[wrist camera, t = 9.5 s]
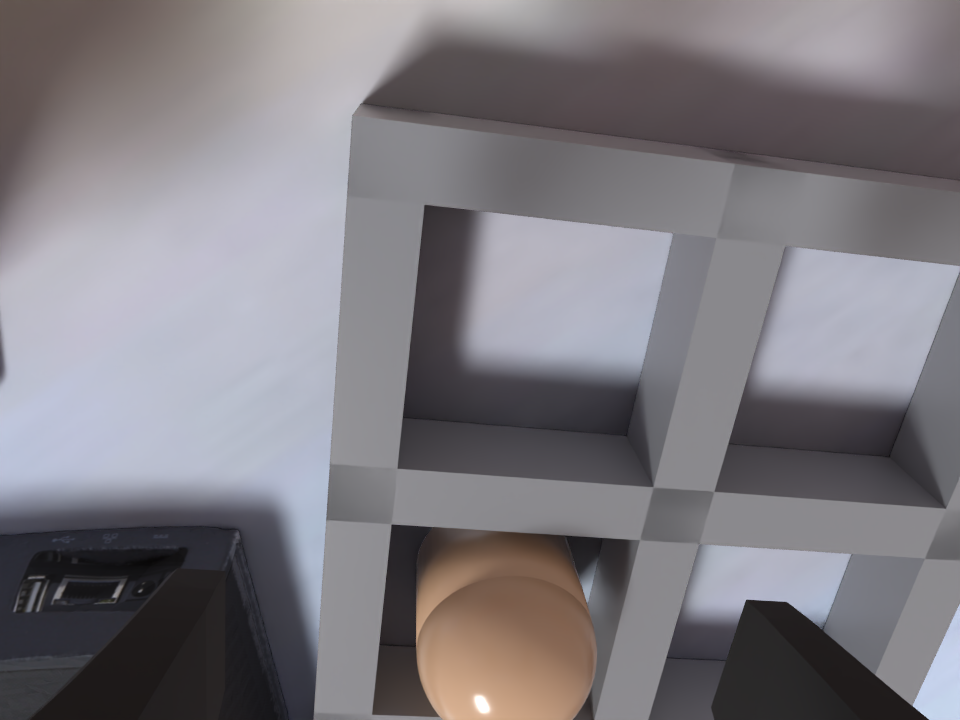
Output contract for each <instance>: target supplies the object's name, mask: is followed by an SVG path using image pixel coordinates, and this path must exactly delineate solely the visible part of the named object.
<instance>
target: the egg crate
mask: <svg viewBox="0 0 960 720" xmlns="http://www.w3.org/2000/svg"><path fill="white" fill-rule="evenodd" d="M424 205H432V206H441V207H449V208H458V209H467V210H476V211H484V212H493V213H502V214H511V215H519V216H528V217H537V218H546V219H554V220H563V221H572V222H580V223H589V224H598V225H607V226H615V227H624V228H633V229H642V230H650V231H659V232H668V233H674V234H673V238H672V242H671V247H670V251H669V255H668V260H667V264H666V268H665V273H664V277H663V281H662V286H661V290H660V294H659V299H658V303H657V307H656V312H655V316H654V320H653V325H652V329H651V333H650V338H649V342H648V346H647V351H646V355H645V359H644V364H643V368H642V372H641V377H640V381H639V385H638V390H637V394H636V398H635V403H634V407H633V411H632V416H631V420H630V424H629V429H628V433H627V436H622V435H609V434H597V433H585V432H572V431H560V430H548V429H535V428H523V427H511V426H498V425H486V424H473V423H461V422H449V421H436V420H424V419H412V418H403V409H404V399H405V390H406V380H407V370H408V360H409V351H410V341H411V331H412V322H413V312H414V302H415V293H416V283H417V273H418V263H419V254H420V244H421V234H422V225H423V215H424ZM785 246H790V247H799V248H808V249H816V250H825V251H834V252H843V253H851V254H860V255H869V256H878V257H886V258H895V259H904V260H913V261H921V262H930V263H939V264H948V265H956V266H960V181H959V180H952V179H944V178H936V177H928V176H921V175H913V174H905V173H897V172H889V171H882V170H874V169H866V168H858V167H851V166H843V165H835V164H827V163H820V162H812V161H804V160H796V159H789V158H781V157H773V156H765V155H758V154H750V153H742V152H734V151H727V150H719V149H711V148H703V147H696V146H688V145H680V144H672V143H665V142H657V141H649V140H641V139H634V138H626V137H618V136H610V135H603V134H595V133H587V132H579V131H572V130H564V129H556V128H548V127H540V126H533V125H525V124H517V123H509V122H502V121H494V120H486V119H478V118H471V117H463V116H455V115H447V114H440V113H432V112H424V111H416V110H409V109H401V108H393V107H385V106H378V105H370V104H362V103H361V104H360V106H359V107H358V108H357V110H356V111H355V112H354V114H353V115H352V128H351V144H350V159H349V175H348V190H347V206H346V222H345V237H344V253H343V268H342V284H341V299H340V315H339V331H338V346H337V362H336V377H335V393H334V408H333V424H332V440H331V455H330V471H329V486H328V502H327V518H326V533H325V549H324V564H323V580H322V595H321V611H320V627H319V642H318V658H317V673H316V689H315V705H314V720H442V719H441V718H440V716H439V715H438V714H437V712H436V711H435V710H434V708H433V707H432V705H431V704H430V702H429V700H428V698H427V696H426V694H425V692H424V690H423V687H422V684H421V680H420V677H419V673H418V667H417V657H416V647H407V646H385V645H379V642H380V632H381V622H382V613H383V603H384V593H385V583H386V574H387V564H388V554H389V545H390V535H391V525H392V524H395V525H411V526H426V527H442V528H457V529H473V530H489V531H504V532H520V533H535V534H551V535H566V536H582V537H598V538H603V541H602V546H601V550H600V554H599V559H598V563H597V567H596V572H595V576H594V580H593V585H592V589H591V593H590V598H589V602H588V609H589V613H590V616H591V619H592V623H593V626H594V631H595V636H596V642H597V665H596V671H595V677H594V681H593V684H592V687H591V690H590V693H589V695H588V697H587V699H586V701H585V703H584V705H583V706H582V708H581V710H580V711H579V712H578V714H577V715H576V717H575V718H574V719H573V720H714V717H713V713H712V709H711V706H712V703H713V699H714V696H715V693H716V690H717V687H718V684H719V681H720V678H721V675H722V672H723V669H724V666H725V663H726V661H715V660H693V659H671V658H666V657H667V654H668V650H669V647H670V643H671V640H672V636H673V633H674V630H675V626H676V623H677V619H678V616H679V612H680V609H681V605H682V602H683V598H684V595H685V592H686V588H687V585H688V581H689V578H690V574H691V571H692V567H693V564H694V560H695V557H696V554H697V550H698V547H699V544H706V545H722V546H738V547H753V548H769V549H784V550H800V551H815V552H831V553H847V554H852V556H851V558H850V561H849V564H848V566H847V569H846V572H845V574H844V577H843V579H842V582H841V585H840V587H839V590H838V592H837V595H836V598H835V600H834V603H833V605H832V608H831V611H830V613H829V616H828V618H827V621H826V624H825V626H824V629H823V631H824V632H825V633H826V634H827V635H829V636H830V637H831V638H832V639H833V640H835V641H836V642H837V643H838V644H839V645H841V646H842V647H843V648H844V649H845V650H846V651H848V652H849V653H850V654H851V655H852V656H853V657H855V658H856V659H857V660H858V661H859V662H861V663H862V664H863V665H864V666H865V667H866V668H868V669H869V670H870V671H871V672H872V673H873V674H875V675H876V676H877V677H878V678H879V679H881V680H882V681H883V682H884V683H885V684H886V685H888V686H889V687H890V688H891V689H892V690H894V691H895V692H896V693H897V694H898V695H900V696H901V697H902V698H903V699H904V700H906V701H907V702H908V703H909V704H910V705H912V706H913V703H914V701H915V699H916V697H917V695H918V693H919V690H920V688H921V686H922V684H923V682H924V680H925V677H926V675H927V673H928V671H929V669H930V667H931V664H932V662H933V660H934V658H935V656H936V654H937V651H938V649H939V647H940V645H941V643H942V641H943V638H944V636H945V634H946V632H947V630H948V628H949V625H950V623H951V621H952V619H953V617H954V615H955V612H956V610H957V608H958V606H959V604H960V274H959V277H958V279H957V282H956V285H955V287H954V290H953V292H952V295H951V298H950V300H949V303H948V306H947V308H946V311H945V313H944V316H943V319H942V321H941V324H940V326H939V329H938V332H937V334H936V337H935V339H934V342H933V345H932V347H931V350H930V352H929V355H928V358H927V360H926V363H925V366H924V368H923V371H922V373H921V376H920V379H919V381H918V384H917V386H916V389H915V392H914V394H913V397H912V399H911V402H910V405H909V407H908V410H907V412H906V415H905V418H904V420H903V423H902V425H901V428H900V431H899V433H898V436H897V439H896V441H895V444H894V446H893V449H892V452H891V454H890V457H881V456H869V455H857V454H844V453H832V452H820V451H807V450H795V449H782V448H770V447H758V446H745V445H733V444H728V443H729V439H730V436H731V433H732V429H733V426H734V422H735V419H736V415H737V412H738V408H739V405H740V401H741V398H742V394H743V391H744V388H745V384H746V381H747V377H748V374H749V370H750V367H751V363H752V360H753V356H754V353H755V350H756V346H757V343H758V339H759V336H760V332H761V329H762V325H763V322H764V318H765V315H766V311H767V308H768V305H769V301H770V298H771V294H772V291H773V287H774V284H775V280H776V277H777V273H778V270H779V267H780V263H781V260H782V256H783V253H784V249H785Z"/></svg>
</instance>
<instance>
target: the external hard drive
mask: <svg viewBox="0 0 960 720" xmlns="http://www.w3.org/2000/svg"><path fill="white" fill-rule="evenodd" d="M177 568H182V569H200V570H218V571H226V584H225V691H224V696H223V700H222V705H221V709H220V714H219V718H218V720H289V719H288V714H287V710H286V707H285V703H284V699H283V696H282V692H281V689H280V685H279V681H278V677H277V674H276V670H275V665H274V663H273V658H272V655H271V651H270V648H269V644H268V640H267V636H266V633H265V629H264V625H263V622H262V618H261V614H260V611H259V607H258V604H257V600H256V596H255V593H254V589H253V585H252V581H251V577H250V574H249V570H248V566H247V561H246V559H245V556H244V551H243V547H242V543H241V538H240V536H239V531H237V530H236V529H230V530H222V529H220V528H213V527H162V528H156V527H154V528H128V529H106V530H89V531H63V532H50V533H36V534H21V535H7V536H0V720H27V719H28V718H29V717H30V716H32V715H33V714H34V713H35V712H36V711H37V710H38V709H39V708H40V707H41V706H43V705H44V704H45V703H46V702H47V701H48V700H49V699H50V698H51V697H52V696H53V695H54V694H55V693H56V692H58V691H59V690H60V689H61V688H62V687H63V686H64V685H65V684H66V683H67V682H68V681H69V680H70V679H71V678H72V677H73V676H74V675H75V674H76V673H77V672H78V671H79V670H80V669H81V668H82V667H83V666H84V665H85V664H86V663H87V662H88V661H89V660H90V659H91V658H92V657H93V656H94V655H95V654H96V653H97V652H98V651H99V650H100V649H101V648H102V647H103V646H104V645H105V644H106V643H107V642H108V641H109V640H110V639H111V637H112V636H113V635H114V634H115V633H116V632H117V631H118V630H119V629H120V628H121V627H122V626H123V625H124V624H125V623H126V622H127V621H128V620H129V618H130V617H131V616H132V615H133V614H134V613H135V612H136V611H137V610H138V609H139V608H140V607H141V605H142V604H143V603H144V602H145V601H146V600H147V599H148V598H149V597H150V595H151V594H152V593H153V592H154V591H155V590H156V589H157V588H158V587H159V585H160V584H161V583H162V582H163V581H164V580H165V579H166V578H167V576H168V575H169V574H171V573H172V572H173V571H175V570H176V569H177Z"/></svg>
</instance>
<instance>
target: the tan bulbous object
mask: <svg viewBox="0 0 960 720" xmlns="http://www.w3.org/2000/svg"><path fill="white" fill-rule="evenodd" d="M416 657H417V667H418V673H419V677H420V680H421V684H422V687H423V690H424V692H425V694H426V696H427V698H428V700H429V702H430V704H431V705H432V707H433V708H434V710H435V711H436V712H437V714H438V715H439V716H440V718H441V719H442V720H573V719H574V718H575V717H576V715H577V714H578V712H579V711H580V710H581V708H582V706H583V705H584V703H585V701H586V699H587V697H588V695H589V693H590V690H591V687H592V684H593V681H594V677H595V671H596V665H597V642H596V636H595V631H594V626H593V623H592V619H591V616H590V613H589V609H588V606H587V603H586V599H585V596H584V592H583V589H582V586H581V582H580V579H579V576H578V572H577V569H576V566H575V562H574V559H573V555H572V552H571V549H570V545H569V543H568V540H567V537H566V536H565V535H551V534H535V533H520V532H504V531H489V530H473V529H457V528H442V527H433V528H432V529H431V530H430V531H429V533H428V534H427V535H426V537H425V539H424V541H423V542H422V544H421V547H420V549H419V552H418V556H417V562H416Z"/></svg>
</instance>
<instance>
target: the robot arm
mask: <svg viewBox="0 0 960 720" xmlns="http://www.w3.org/2000/svg"><path fill="white" fill-rule="evenodd" d="M225 584H226V571H218V570H200V569H182V568H177V569H176V570H175V571H173V572H172V573H171V574H169V575H168V576H167V578H166V579H165V580H164V581H163V582H162V583H161V584H160V585H159V587H158V588H157V589H156V590H155V591H154V592H153V593H152V594H151V595H150V597H149V598H148V599H147V600H146V601H145V602H144V603H143V604H142V605H141V607H140V608H139V609H138V610H137V611H136V612H135V613H134V614H133V615H132V616H131V617H130V618H129V620H128V621H127V622H126V623H125V624H124V625H123V626H122V627H121V628H120V629H119V630H118V631H117V632H116V633H115V634H114V635H113V636H112V637H111V639H110V640H109V641H108V642H107V643H106V644H105V645H104V646H103V647H102V648H101V649H100V650H99V651H98V652H97V653H96V654H95V655H94V656H93V657H92V658H91V659H90V660H89V661H88V662H87V663H86V664H85V665H84V666H83V667H82V668H81V669H80V670H79V671H78V672H77V673H76V674H75V675H74V676H73V677H72V678H71V679H70V680H69V681H68V682H67V683H66V684H65V685H64V686H63V687H62V688H61V689H60V690H59V691H58V692H56V693H55V694H54V695H53V696H52V697H51V698H50V699H49V700H48V701H47V702H46V703H45V704H44V705H43V706H41V707H40V708H39V709H38V710H37V711H36V712H35V713H34V714H33V715H32V716H30V717H29V718H28V719H27V720H218V718H219V714H220V709H221V705H222V700H223V696H224V691H225ZM711 709H712V713H713V717H714V720H929V719H927V718H926V717H925V716H924V715H922V714H921V713H920V712H919V711H918V710H916V709H915V708H914V707H913V706H912V705H910V704H909V703H908V702H907V701H906V700H904V699H903V698H902V697H901V696H900V695H898V694H897V693H896V692H895V691H894V690H892V689H891V688H890V687H889V686H888V685H886V684H885V683H884V682H883V681H882V680H881V679H879V678H878V677H877V676H876V675H875V674H873V673H872V672H871V671H870V670H869V669H868V668H866V667H865V666H864V665H863V664H862V663H861V662H859V661H858V660H857V659H856V658H855V657H853V656H852V655H851V654H850V653H849V652H848V651H846V650H845V649H844V648H843V647H842V646H841V645H839V644H838V643H837V642H836V641H835V640H833V639H832V638H831V637H830V636H829V635H827V634H826V633H825V632H824V631H823V630H821V629H820V628H819V627H818V626H817V625H815V624H814V623H813V622H812V621H811V620H809V619H808V618H807V617H806V616H804V615H803V614H802V613H801V612H799V611H798V610H797V609H795V608H794V607H793V606H791V605H790V604H789V603H787V602H776V601H758V600H746V602H745V605H744V608H743V611H742V614H741V617H740V620H739V623H738V626H737V629H736V633H735V636H734V639H733V642H732V645H731V648H730V651H729V654H728V657H727V660H726V663H725V666H724V669H723V672H722V675H721V678H720V681H719V684H718V687H717V690H716V693H715V696H714V699H713V703H712V706H711Z"/></svg>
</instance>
